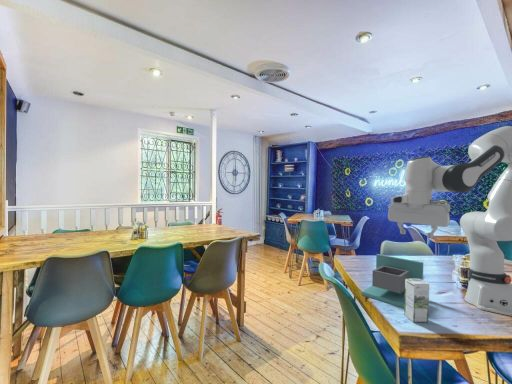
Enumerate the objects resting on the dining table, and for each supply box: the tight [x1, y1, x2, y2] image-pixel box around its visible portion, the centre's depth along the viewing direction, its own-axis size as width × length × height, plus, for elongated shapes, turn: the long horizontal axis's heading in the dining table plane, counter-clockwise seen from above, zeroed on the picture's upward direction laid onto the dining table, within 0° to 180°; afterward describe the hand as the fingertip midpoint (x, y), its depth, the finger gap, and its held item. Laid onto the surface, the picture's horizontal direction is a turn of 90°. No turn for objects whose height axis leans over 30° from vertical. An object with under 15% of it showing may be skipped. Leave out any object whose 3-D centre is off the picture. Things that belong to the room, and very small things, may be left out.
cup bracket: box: [361, 253, 424, 309], centre depth 120 cm, size 20×18×16 cm
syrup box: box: [403, 279, 430, 323], centre depth 99 cm, size 6×6×14 cm
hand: (416, 235), depth 101 cm, fingers open, 8 cm apart
